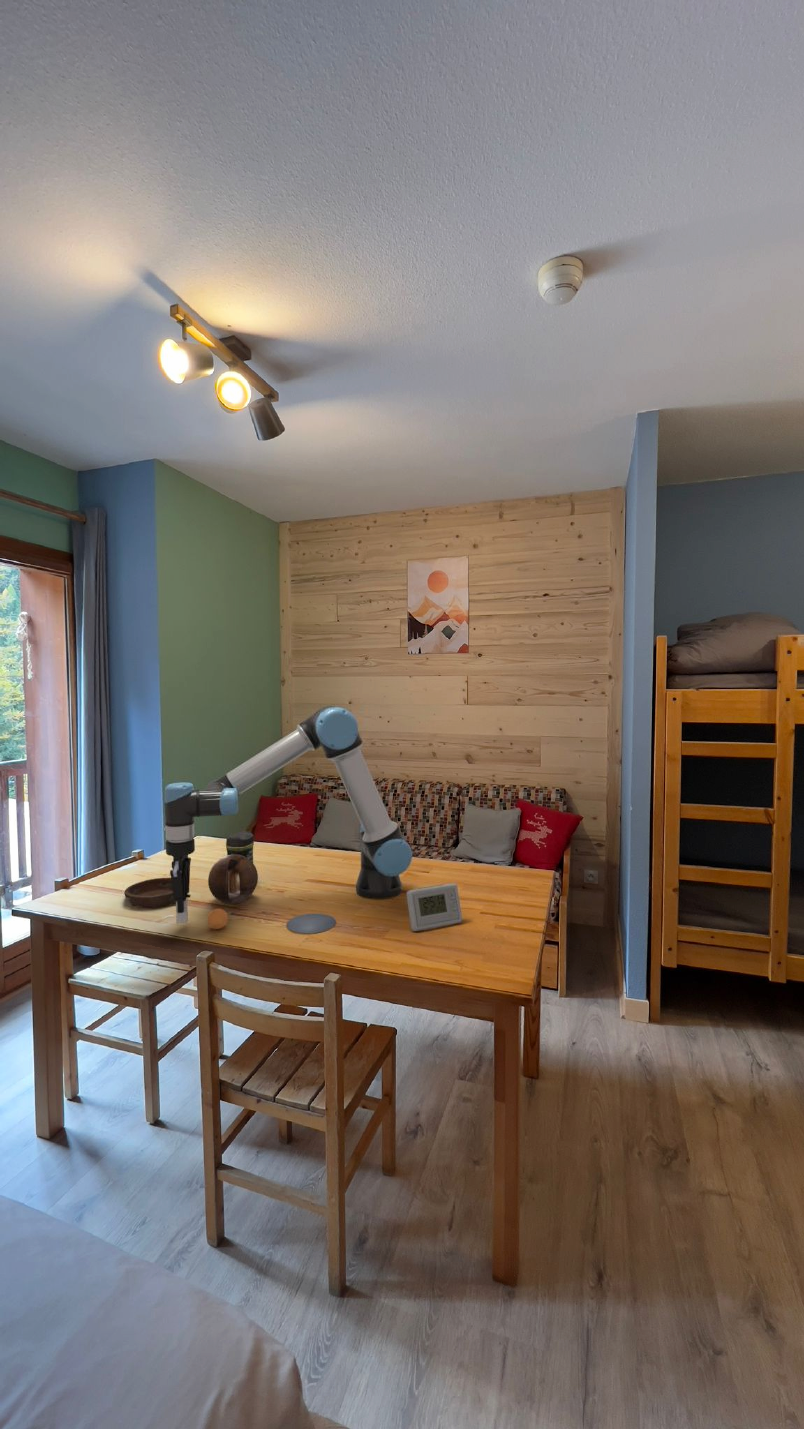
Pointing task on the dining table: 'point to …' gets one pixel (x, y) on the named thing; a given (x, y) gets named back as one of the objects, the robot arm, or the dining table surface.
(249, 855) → the coffee jar
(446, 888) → the digital clock
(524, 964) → the dining table surface
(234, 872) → the wooden sphere
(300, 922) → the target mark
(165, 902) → the dish
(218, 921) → the ball
